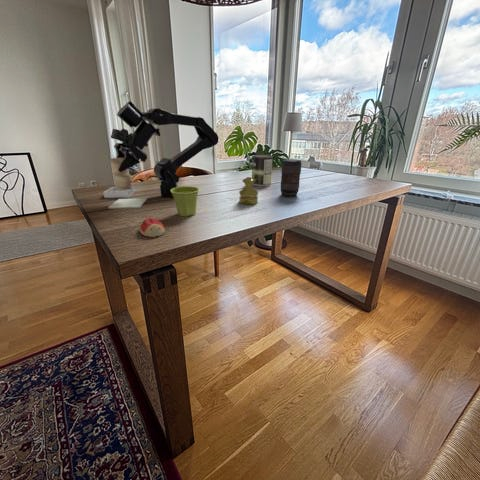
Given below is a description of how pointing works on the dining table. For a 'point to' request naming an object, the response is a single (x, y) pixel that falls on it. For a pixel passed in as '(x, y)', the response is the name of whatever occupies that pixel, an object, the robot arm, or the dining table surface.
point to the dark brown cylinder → (290, 177)
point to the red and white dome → (152, 227)
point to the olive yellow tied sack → (248, 192)
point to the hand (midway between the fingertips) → (116, 170)
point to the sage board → (127, 203)
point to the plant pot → (185, 199)
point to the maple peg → (120, 175)
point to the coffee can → (262, 169)
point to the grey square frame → (118, 193)
